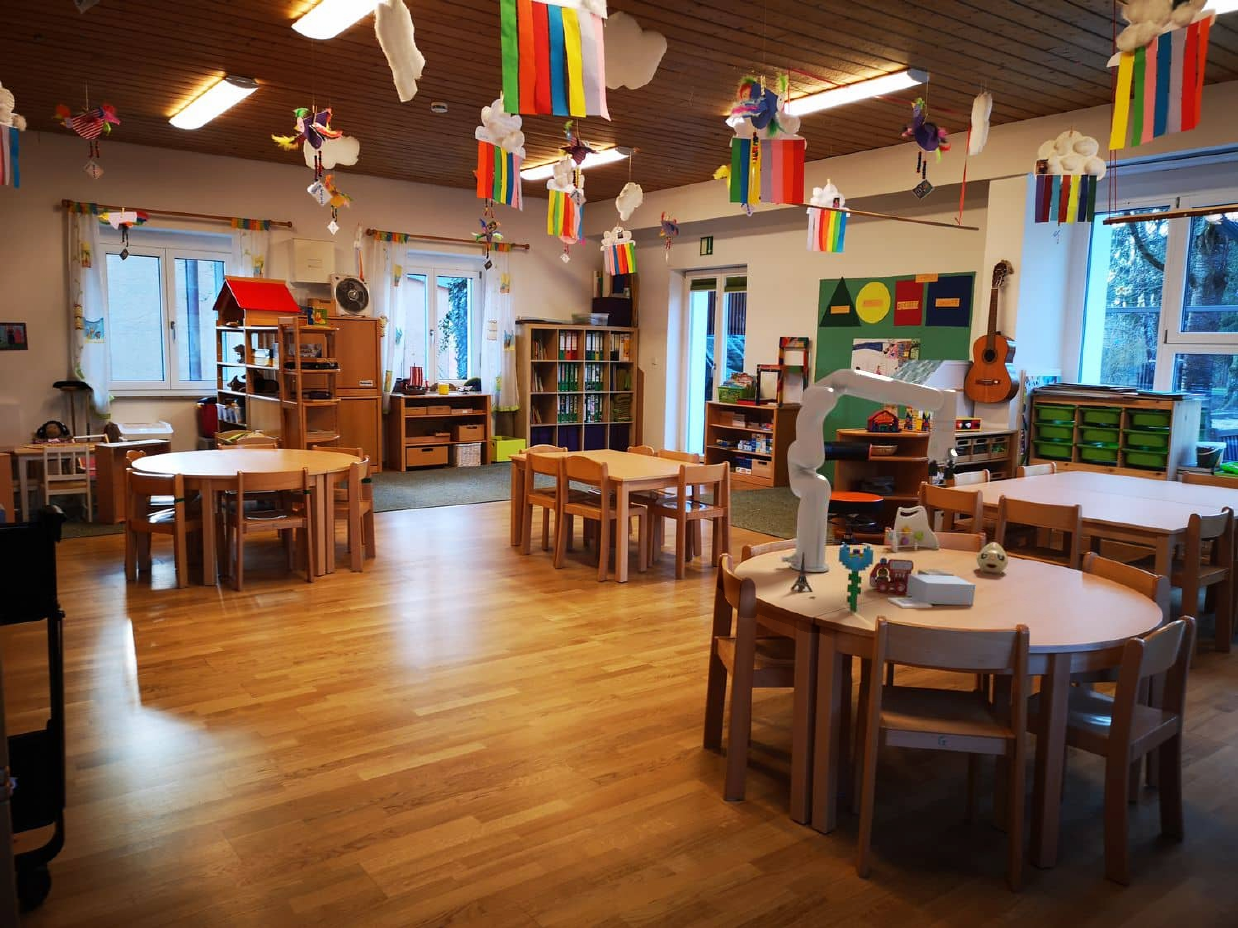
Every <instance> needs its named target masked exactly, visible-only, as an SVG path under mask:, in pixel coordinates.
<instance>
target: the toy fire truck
mask: <svg viewBox="0 0 1238 928" xmlns="http://www.w3.org/2000/svg"><path fill="white" fill-rule="evenodd" d="M913 570H914V561H913V560H910V559H895V558H891V559H889V560H888V559H887V558H886V557H882V558H880V559H879V562H877V563H876V564H875V566H874V567H873V569H872V570H871V572H870V574H869V586H870V587H872V588H876V591H877V592H878V593H879V594H887V593H888V592H889V591H890V589H892V590H893V592H894V593H895V594H896V595H897V596H904V595H905V594H907V585H908V575H909V574H912V571H913Z"/></svg>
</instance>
